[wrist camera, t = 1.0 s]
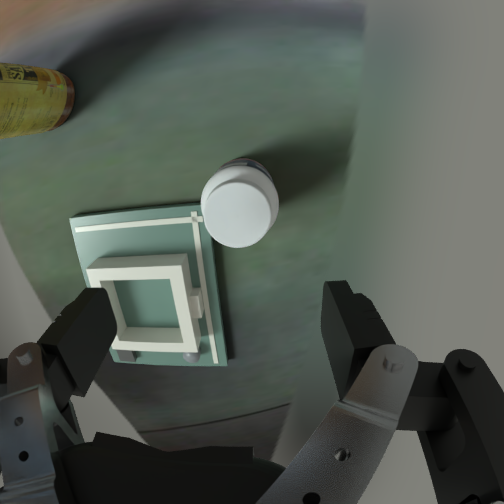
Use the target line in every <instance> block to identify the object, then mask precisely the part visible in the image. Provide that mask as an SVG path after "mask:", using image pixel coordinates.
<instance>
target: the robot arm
mask: <svg viewBox="0 0 504 504" xmlns="http://www.w3.org/2000/svg"><path fill="white" fill-rule="evenodd" d="M321 332H322V337H323V340H324V344H325V347H326V350H327V354H328V357H329V361H330V365H331V368H332V371H333V375H334V379H335V383H336V386H337V390H338V394H339V398H340V400H338V401H337V402H336V403H335V404H334V405H333V407H332V408H331V409H330V411H329V412H328V414H327V415H326V417H325V418H324V420H323V421H322V422H321V424H320V425H319V426H318V428H317V429H316V431H315V432H314V433H313V435H312V436H311V437H310V439H309V440H308V442H307V443H306V444H305V445H304V447H303V448H302V449H301V451H300V452H299V453H298V455H297V456H296V457H295V458H294V459H293V461H292V462H291V463H290V464H289V466H288V467H287V468H285V467H283V466H282V465H279V464H277V463H274V462H271V461H268V460H265V459H260V458H255V457H254V452H253V447H220V446H208V447H202V448H195V449H188V450H181V451H172V452H166V451H162V450H159V449H156V448H154V447H151V446H148V445H146V444H143V443H141V442H138V441H136V440H133V439H131V438H127V437H120V436H116V435H110V434H105V433H100V432H96V434H95V437H94V440H93V442H86V443H85V442H84V439H83V436H82V433H81V430H80V427H79V424H78V420H77V417H76V414H75V410H74V407H73V404H72V402H71V401H70V397H71V395H76V396H81V397H85V395H86V393H87V391H88V389H89V387H90V385H91V383H92V381H93V379H94V377H95V375H96V373H97V371H98V369H99V367H100V365H101V364H102V362H103V360H104V358H105V356H106V354H107V352H108V350H109V348H110V347H111V345H112V343H113V341H114V339H115V337H116V335H117V322H116V318H115V315H114V312H113V309H112V306H111V302H110V299H109V296H108V293H107V291H106V289H105V288H103V287H87V288H85V289H84V290H83V291H82V292H81V293H80V295H79V296H78V297H77V298H76V299H75V300H74V301H73V302H72V303H70V304H69V305H67V306H66V307H65V308H64V309H63V310H62V312H61V313H60V314H59V316H57V318H56V319H55V320H54V323H52V324H51V325H50V326H49V328H48V329H47V330H46V331H45V333H44V334H43V335H42V336H41V338H40V339H39V340H38V341H37V343H33V342H29V343H24V344H22V345H20V346H18V347H17V348H15V349H14V350H13V351H12V352H11V353H10V355H9V357H8V358H5V359H0V473H1V471H2V476H3V483H4V486H3V487H1V488H0V504H357V503H358V501H359V499H360V498H361V496H362V494H363V493H364V491H365V489H366V488H367V485H368V484H369V482H370V480H371V479H372V477H373V474H374V473H375V471H376V469H377V467H378V465H379V464H380V462H381V459H382V458H383V455H384V453H385V451H386V449H387V447H388V445H389V443H390V441H391V439H392V437H393V434H394V432H395V430H410V431H417V433H418V436H419V440H420V443H421V446H422V449H423V452H424V455H425V459H426V462H427V465H428V469H429V472H430V475H431V479H432V483H433V487H434V490H435V494H436V498H437V502H438V504H504V392H503V390H502V389H501V387H500V385H499V384H498V382H497V380H496V379H495V377H494V376H493V374H492V372H491V371H490V369H489V368H488V366H487V364H486V363H485V361H484V360H483V359H482V358H481V357H480V356H479V355H478V354H476V353H475V352H472V351H470V350H466V349H457V350H453V351H452V352H450V353H449V354H448V355H447V356H446V358H445V361H444V363H433V362H421V361H418V359H417V357H416V355H415V354H414V353H413V352H412V351H410V350H409V349H407V348H406V347H403V346H400V345H396V343H395V341H394V339H393V338H392V336H391V334H390V332H389V331H388V329H387V327H386V325H385V323H384V322H383V320H382V319H381V317H380V315H379V313H378V312H377V311H376V308H375V306H374V305H373V303H372V301H371V300H370V299H368V298H367V297H366V296H364V295H363V294H361V293H357V294H353V292H352V290H351V288H350V286H349V284H348V282H347V281H346V280H343V281H326V282H325V283H324V288H323V300H322V312H321Z"/></svg>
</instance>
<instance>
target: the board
mask: <svg viewBox="0 0 504 504" xmlns="http://www.w3.org/2000/svg"><path fill="white" fill-rule="evenodd" d="M69 219H70V224H71V228H72V233H73V237H74V241H75V245H76V249H77V253H78V257H79V261H80V264H81V268H82V271H83V275H84V278H85V282H86V285H87V287H103V288H105V289H106V291H107V293H108V296H109V299H110V302H111V306H112V309H113V312H114V315H115V318H116V322H117V335H116V337H115V339H114V341H113V343H112V345H111V347H110V348H109V350H110V352H111V355H112V357H113V360H114V362H123V363H136V364H152V365H176V366H228V356H227V349H226V342H225V334H224V327H223V320H222V312H221V304H220V297H219V289H218V280H217V272H216V263H215V255H214V246H213V237H212V236H211V235H210V233H209V232H208V230H207V228H206V226H205V223H204V218H203V214H202V210H201V202H199V203H186V204H175V205H163V206H153V207H143V208H133V209H124V210H115V211H106V212H98V213H90V214H82V215H74V216H73V217H71V218H69Z"/></svg>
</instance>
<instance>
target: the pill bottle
mask: <svg viewBox="0 0 504 504" xmlns="http://www.w3.org/2000/svg"><path fill="white" fill-rule="evenodd" d="M278 209H279V199H278V194H277V191H276V188H275V186H274V183H273V180H272V178H271V175H270V174H269V172H268V171H267V169H266V168H265V167H264V166H262V165H261V164H260V163H258V162H256V161H254V160H251V159H235V160H232V161H229V162H227V163H225V164H224V165H223V166H221V167H220V168H219V169H218V170H217V171H216V172H215V174H214V175H213V176H212V177H211V178H210V179H209V180H208V182H207V183H206V185H205V187H204V190H203V192H202V197H201V210H202V214H203V218H204V223H205V226H206V228H207V230H208V232H209V233H210V235H211V236H212V237H213V238H214V239H215V240H216V241H218V242H219V243H221V244H223V245H225V246H229V247H234V248H241V247H247V246H250V245H252V244H254V243H256V242H258V241H259V240H260V239H261V238H262V237H263V236H264V235H265V234H266V232H267V231H268V230H269V229H270V228H271V227H272V225H273V223H274V222H275V220H276V217H277V214H278Z"/></svg>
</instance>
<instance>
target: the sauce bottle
mask: <svg viewBox="0 0 504 504" xmlns="http://www.w3.org/2000/svg"><path fill="white" fill-rule="evenodd" d="M74 98H75V90H74V86H73V83H72V81H71V80H70V79H69V78H68V77H67V76H66V75H64V74H63V73H59V72H58V71H56V70H52V69H45V68H39V67H33V66H25V65H19V64H8V63H0V139H4V138H10V137H16V136H22V135H30V134H37V133H43V132H45V131H50V130H53V129H55V128H57V127H58V126H60V125H61V124H63V123H64V122H65V121H66V119H67V118H68V116H69V115H70V113H71V110H72V108H73V103H74Z"/></svg>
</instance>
